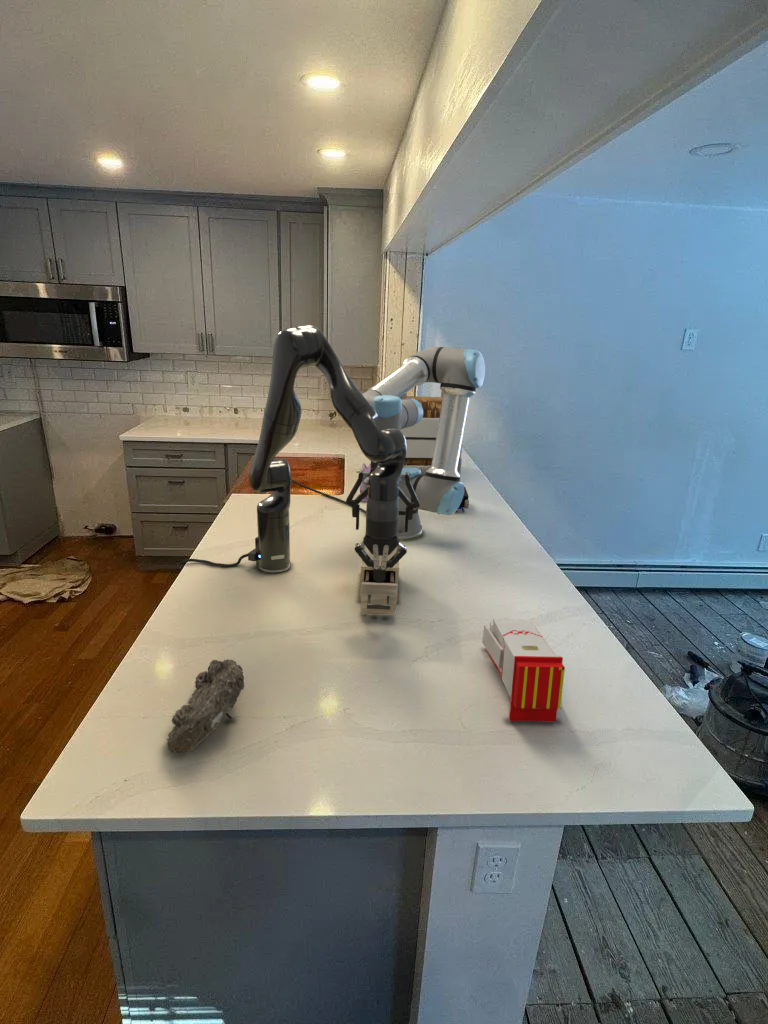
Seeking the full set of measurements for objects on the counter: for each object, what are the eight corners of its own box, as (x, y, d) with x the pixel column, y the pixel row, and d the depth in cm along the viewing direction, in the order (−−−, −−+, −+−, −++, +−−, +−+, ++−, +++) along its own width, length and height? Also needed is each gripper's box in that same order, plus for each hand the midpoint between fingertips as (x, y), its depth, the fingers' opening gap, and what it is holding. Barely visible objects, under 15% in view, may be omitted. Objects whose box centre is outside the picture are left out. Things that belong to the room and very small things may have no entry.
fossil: (192, 660, 117) (244, 628, 112) (224, 691, 120) (276, 661, 115) (142, 746, 98) (202, 712, 93) (182, 779, 101) (242, 748, 96)
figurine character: (469, 517, 223) (463, 501, 236) (471, 500, 219) (465, 484, 233) (452, 516, 222) (447, 500, 236) (454, 499, 219) (449, 483, 232)
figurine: (363, 503, 228) (365, 467, 223) (353, 496, 237) (354, 461, 232) (384, 501, 233) (386, 465, 227) (373, 493, 241) (374, 459, 236)
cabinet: (397, 603, 153) (399, 568, 149) (359, 601, 153) (361, 566, 149) (396, 576, 168) (398, 543, 165) (362, 574, 168) (363, 542, 165)
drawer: (395, 627, 140) (397, 596, 137) (359, 625, 140) (360, 595, 137) (394, 588, 159) (396, 560, 156) (363, 586, 159) (364, 559, 156)
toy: (529, 604, 135) (573, 663, 106) (524, 656, 138) (566, 727, 109) (478, 603, 135) (509, 662, 105) (474, 655, 137) (503, 727, 108)
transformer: (382, 463, 289) (386, 382, 275) (445, 464, 293) (451, 384, 279) (390, 482, 257) (394, 392, 243) (460, 483, 261) (468, 394, 247)
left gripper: (352, 519, 128) (351, 587, 134) (411, 521, 128) (406, 590, 134) (354, 508, 135) (353, 573, 141) (410, 510, 135) (406, 576, 141)
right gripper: (337, 456, 148) (335, 532, 155) (432, 460, 148) (427, 536, 155) (339, 449, 155) (338, 522, 162) (430, 453, 155) (425, 526, 162)
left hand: (379, 581), depth 138 cm, fingers closed
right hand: (381, 529), depth 158 cm, fingers open, 13 cm apart
